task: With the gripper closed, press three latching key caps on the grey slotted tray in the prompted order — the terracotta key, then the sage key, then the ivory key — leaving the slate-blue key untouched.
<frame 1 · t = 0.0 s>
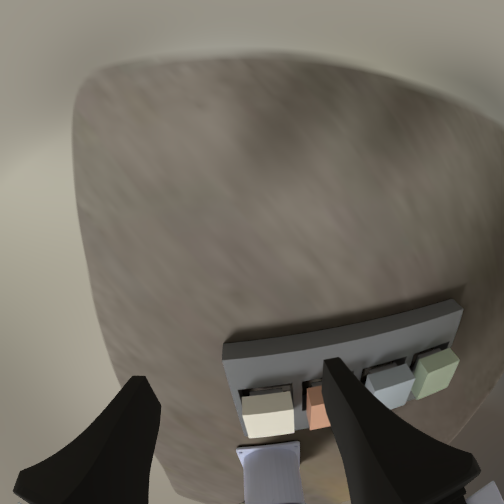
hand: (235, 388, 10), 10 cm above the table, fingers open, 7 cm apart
key ivory: (268, 411, 21), point 3 cm above the table, slide at 0.0 cm
key terracotta: (329, 401, 21), point 3 cm above the table, slide at 0.0 cm
grey slotted tray: (349, 371, 24), on the table
key slate: (385, 387, 21), point 3 cm above the table, slide at 0.0 cm
key sage: (431, 370, 21), point 3 cm above the table, slide at 0.0 cm
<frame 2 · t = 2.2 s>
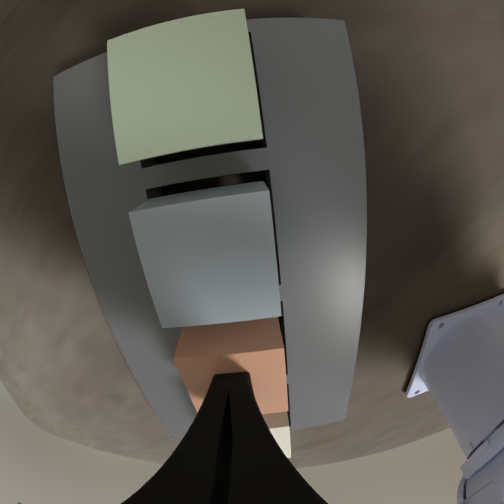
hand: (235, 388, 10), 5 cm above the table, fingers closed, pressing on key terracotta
key ivory: (251, 426, 13), point 3 cm above the table, slide at 0.0 cm
key terracotta: (236, 364, 11), point 3 cm above the table, slide at 0.0 cm, touching gripper
grey slotted tray: (228, 278, 13), on the table
key slate: (212, 249, 9), point 3 cm above the table, slide at 0.0 cm
key sage: (187, 89, 7), point 3 cm above the table, slide at 0.0 cm
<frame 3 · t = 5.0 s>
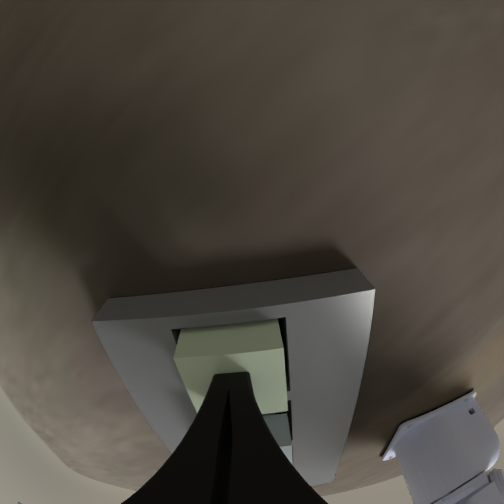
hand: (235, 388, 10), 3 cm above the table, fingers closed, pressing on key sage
grey slotted tray: (255, 423, 16), on the table
key slate: (252, 442, 12), point 3 cm above the table, slide at 0.0 cm
key sage: (236, 364, 11), point 2 cm above the table, slide at -1.2 cm, touching gripper
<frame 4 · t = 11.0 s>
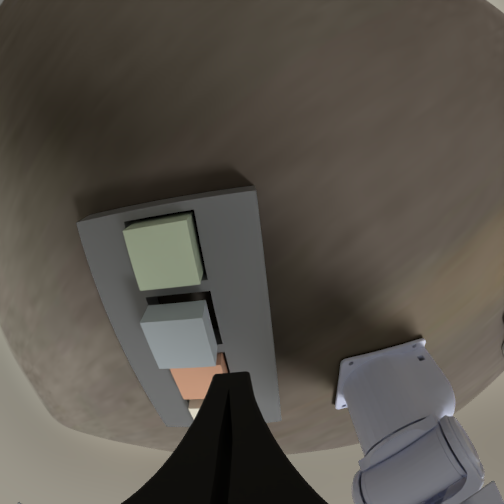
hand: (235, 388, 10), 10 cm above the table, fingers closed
key ivory: (216, 407, 23), point 2 cm above the table, slide at -1.5 cm
key terracotta: (202, 370, 21), point 2 cm above the table, slide at -1.5 cm
grey slotted tray: (196, 334, 22), on the table
key slate: (182, 331, 18), point 3 cm above the table, slide at 0.0 cm
key sage: (166, 248, 17), point 2 cm above the table, slide at -1.5 cm
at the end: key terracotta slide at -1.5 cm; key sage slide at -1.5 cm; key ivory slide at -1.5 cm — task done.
